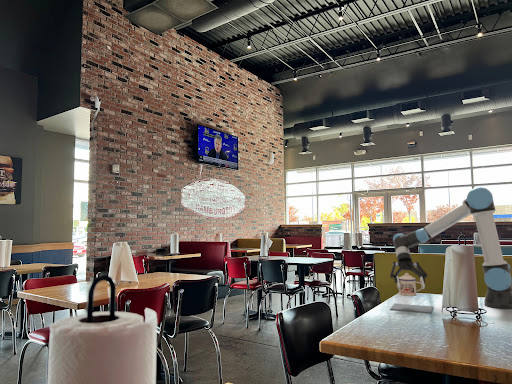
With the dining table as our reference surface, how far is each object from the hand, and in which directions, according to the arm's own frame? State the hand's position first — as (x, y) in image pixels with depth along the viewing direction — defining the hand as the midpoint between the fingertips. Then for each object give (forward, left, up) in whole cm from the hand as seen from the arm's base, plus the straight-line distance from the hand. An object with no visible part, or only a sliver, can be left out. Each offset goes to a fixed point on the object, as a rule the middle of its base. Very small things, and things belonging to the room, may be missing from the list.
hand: (411, 287), depth 205 cm
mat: (0, -2, -11) cm, 12 cm away
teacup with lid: (+1, -3, -5) cm, 5 cm away
